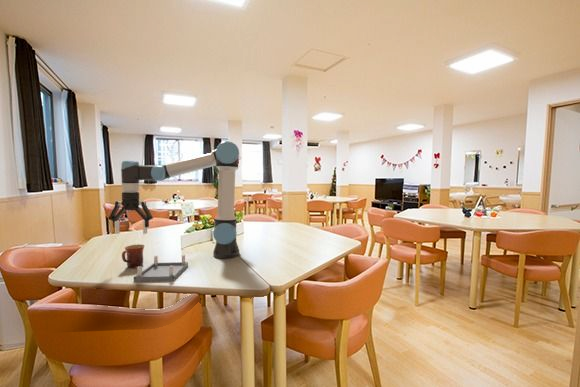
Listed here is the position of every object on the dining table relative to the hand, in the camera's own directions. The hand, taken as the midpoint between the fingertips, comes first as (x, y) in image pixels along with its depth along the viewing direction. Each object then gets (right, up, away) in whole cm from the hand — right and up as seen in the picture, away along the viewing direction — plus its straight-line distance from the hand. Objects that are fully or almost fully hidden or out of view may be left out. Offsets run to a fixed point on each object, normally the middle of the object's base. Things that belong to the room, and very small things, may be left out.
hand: (131, 233), depth 132 cm
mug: (0, -17, +1) cm, 17 cm away
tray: (+20, -18, -8) cm, 28 cm away
